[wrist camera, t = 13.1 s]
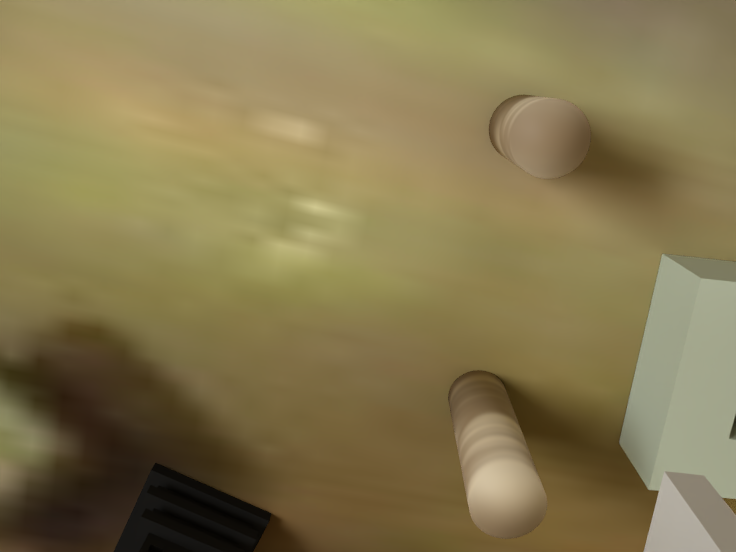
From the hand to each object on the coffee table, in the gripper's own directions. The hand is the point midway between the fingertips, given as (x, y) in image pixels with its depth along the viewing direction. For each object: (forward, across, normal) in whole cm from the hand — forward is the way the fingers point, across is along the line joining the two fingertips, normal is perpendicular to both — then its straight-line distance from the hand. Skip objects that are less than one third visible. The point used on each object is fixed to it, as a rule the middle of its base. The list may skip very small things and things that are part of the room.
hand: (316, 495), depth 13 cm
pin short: (+27, +8, +6) cm, 29 cm away
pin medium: (+27, +8, -10) cm, 30 cm away
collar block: (+27, +23, -6) cm, 36 cm away
